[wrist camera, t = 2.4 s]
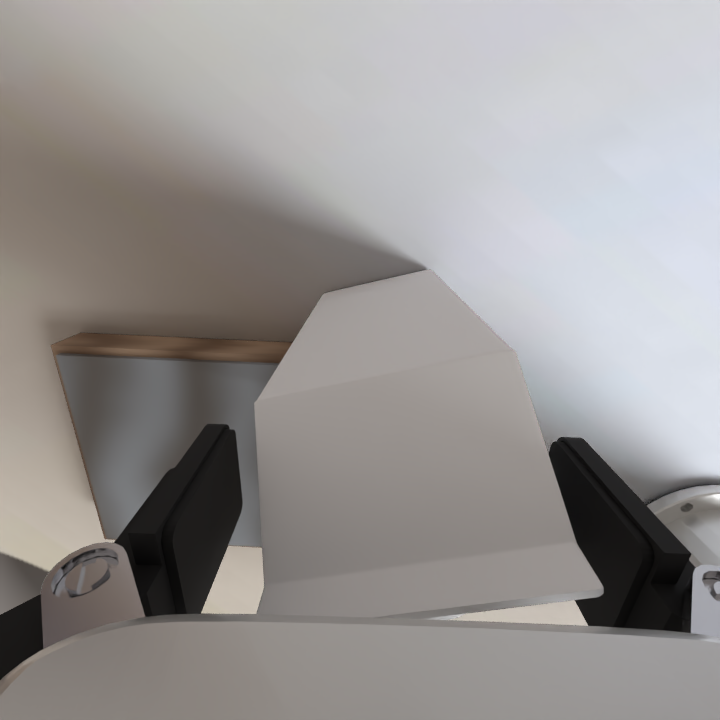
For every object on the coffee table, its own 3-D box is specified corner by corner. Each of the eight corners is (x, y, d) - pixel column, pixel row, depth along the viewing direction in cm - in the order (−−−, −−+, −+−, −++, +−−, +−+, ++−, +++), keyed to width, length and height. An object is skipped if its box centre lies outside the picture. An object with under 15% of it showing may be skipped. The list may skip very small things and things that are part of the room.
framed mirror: (312, 343, 26) (305, 359, 23) (314, 524, 31) (308, 554, 29) (80, 332, 26) (45, 347, 23) (125, 514, 32) (101, 543, 29)
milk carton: (322, 292, 24) (186, 505, 7) (431, 267, 24) (605, 434, 6) (348, 389, 27) (299, 731, 9) (447, 369, 26) (605, 703, 8)
